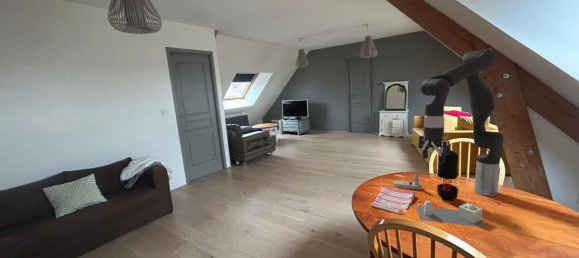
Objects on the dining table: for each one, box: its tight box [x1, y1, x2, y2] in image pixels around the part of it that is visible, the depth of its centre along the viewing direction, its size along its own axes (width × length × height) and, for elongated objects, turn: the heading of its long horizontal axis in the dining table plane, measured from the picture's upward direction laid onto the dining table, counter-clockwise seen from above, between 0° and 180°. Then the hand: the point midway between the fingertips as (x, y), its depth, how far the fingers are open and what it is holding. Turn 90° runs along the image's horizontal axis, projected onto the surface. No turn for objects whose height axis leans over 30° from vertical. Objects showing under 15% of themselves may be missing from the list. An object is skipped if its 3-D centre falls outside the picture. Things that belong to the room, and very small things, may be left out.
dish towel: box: [370, 186, 416, 216], centre depth 124 cm, size 17×23×4 cm
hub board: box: [415, 200, 488, 228], centre depth 105 cm, size 24×12×8 cm, turn 69°
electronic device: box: [392, 171, 423, 190], centre depth 139 cm, size 5×10×15 cm
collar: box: [458, 202, 483, 224], centre depth 102 cm, size 6×6×5 cm
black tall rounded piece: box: [436, 149, 459, 201], centre depth 118 cm, size 14×9×30 cm
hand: (432, 160), depth 105 cm, fingers open, 8 cm apart
